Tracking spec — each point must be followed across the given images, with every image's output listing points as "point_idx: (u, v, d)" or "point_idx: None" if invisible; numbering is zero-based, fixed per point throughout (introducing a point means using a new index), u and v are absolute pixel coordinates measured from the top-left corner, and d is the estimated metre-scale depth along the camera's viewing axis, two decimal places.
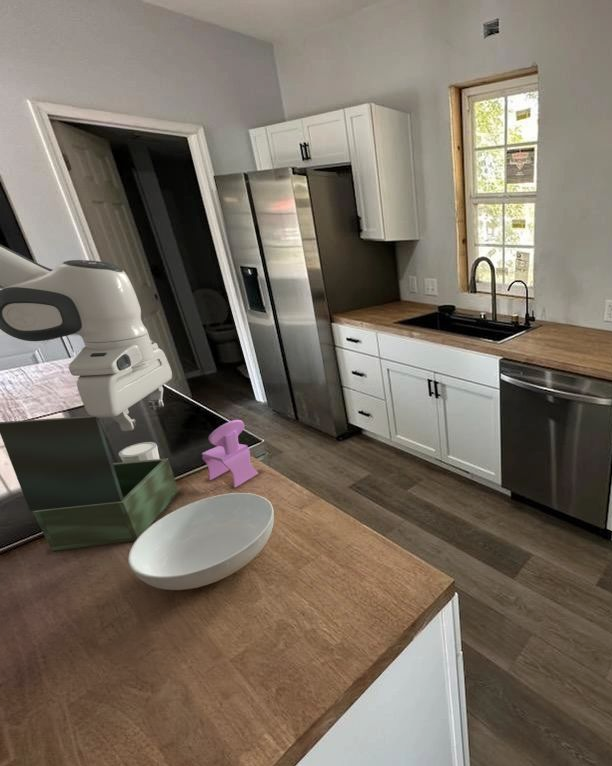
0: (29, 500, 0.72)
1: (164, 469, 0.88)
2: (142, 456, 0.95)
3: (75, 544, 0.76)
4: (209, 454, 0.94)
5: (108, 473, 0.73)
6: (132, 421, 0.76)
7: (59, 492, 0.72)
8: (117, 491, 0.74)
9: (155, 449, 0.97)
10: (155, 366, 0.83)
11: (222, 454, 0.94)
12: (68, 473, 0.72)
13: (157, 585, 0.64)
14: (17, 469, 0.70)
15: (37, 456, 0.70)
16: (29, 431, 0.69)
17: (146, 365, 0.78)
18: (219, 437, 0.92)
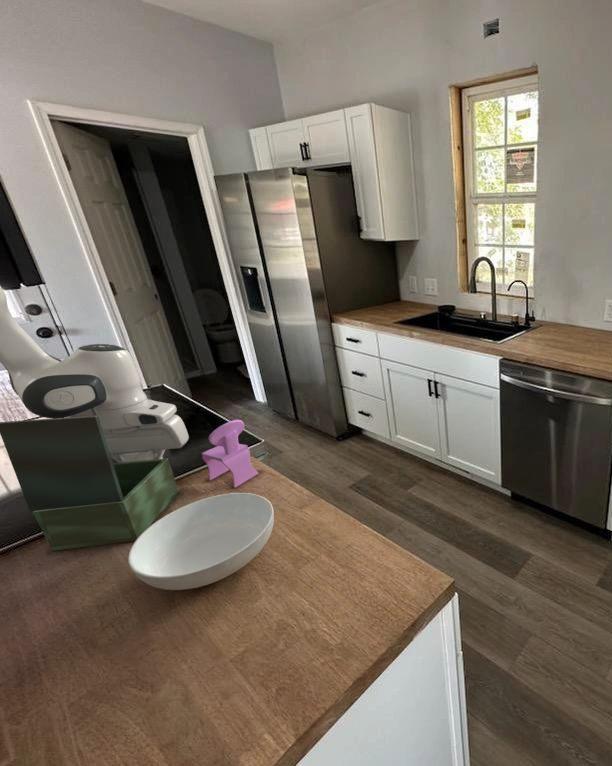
0: (29, 500, 0.72)
1: (164, 469, 0.88)
2: (142, 456, 0.95)
3: (75, 544, 0.76)
4: (209, 454, 0.94)
5: (108, 473, 0.73)
6: None
7: (59, 492, 0.72)
8: (117, 491, 0.74)
9: None
10: None
11: (222, 454, 0.94)
12: (68, 473, 0.72)
13: (157, 585, 0.64)
14: (17, 469, 0.70)
15: (37, 456, 0.70)
16: (29, 431, 0.69)
17: None
18: (219, 437, 0.92)
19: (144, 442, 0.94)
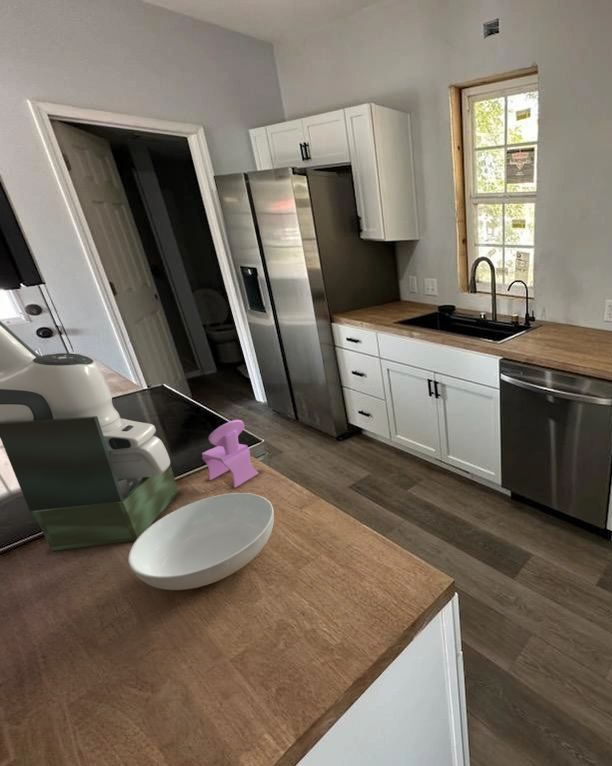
0: (29, 500, 0.71)
1: None
2: None
3: (75, 544, 0.76)
4: (209, 454, 0.94)
5: (108, 473, 0.73)
6: None
7: (59, 492, 0.72)
8: (117, 491, 0.74)
9: None
10: None
11: (222, 454, 0.94)
12: (68, 473, 0.72)
13: (157, 585, 0.64)
14: (16, 470, 0.70)
15: (36, 456, 0.70)
16: (28, 431, 0.68)
17: None
18: (219, 437, 0.92)
19: (116, 470, 0.80)
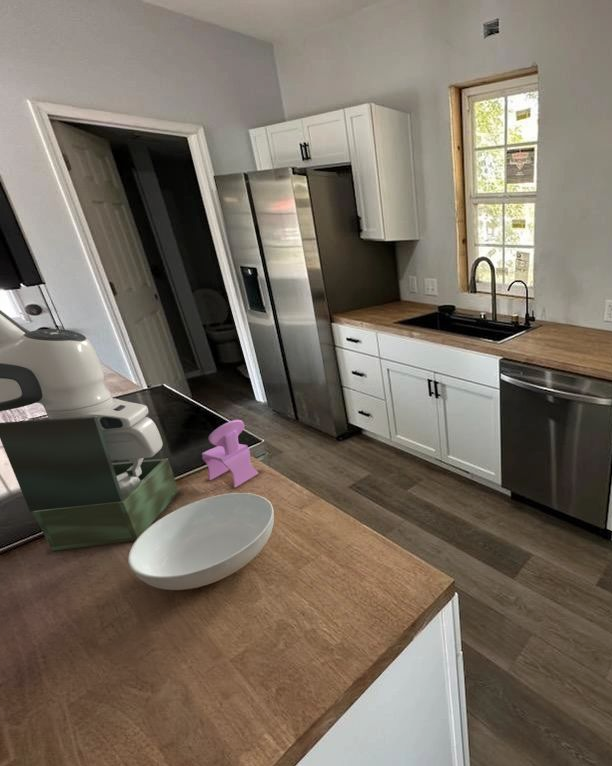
0: (29, 500, 0.71)
1: (164, 469, 0.88)
2: None
3: (75, 544, 0.76)
4: (209, 454, 0.94)
5: (108, 473, 0.73)
6: None
7: (59, 492, 0.72)
8: (117, 491, 0.74)
9: None
10: None
11: (222, 454, 0.94)
12: (67, 473, 0.72)
13: (157, 585, 0.64)
14: (16, 470, 0.70)
15: (36, 457, 0.70)
16: (27, 432, 0.68)
17: None
18: (219, 437, 0.92)
19: None
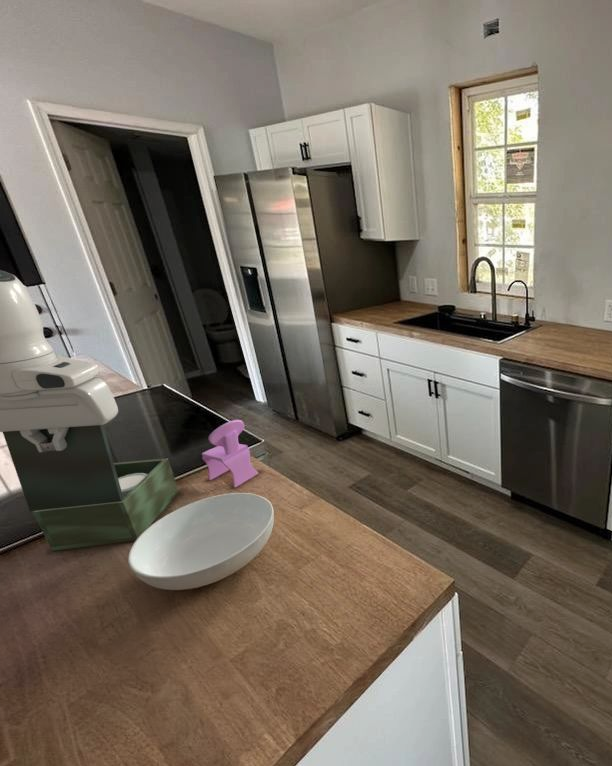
0: (29, 500, 0.72)
1: (164, 469, 0.88)
2: None
3: (75, 544, 0.76)
4: (209, 454, 0.94)
5: (109, 472, 0.73)
6: None
7: (60, 492, 0.72)
8: (117, 491, 0.74)
9: None
10: None
11: (222, 454, 0.94)
12: (69, 472, 0.72)
13: (157, 585, 0.64)
14: (18, 469, 0.70)
15: (39, 455, 0.70)
16: None
17: None
18: (219, 437, 0.92)
19: (49, 416, 0.66)
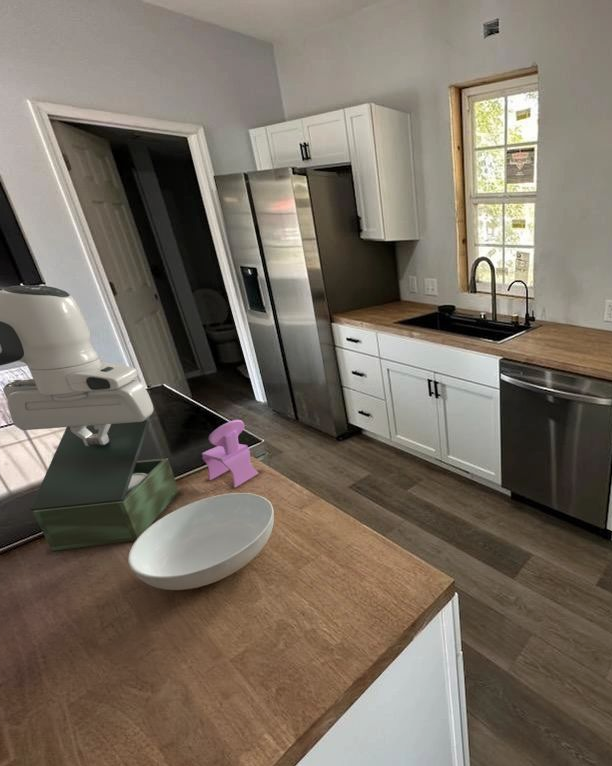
0: (38, 497, 0.73)
1: (164, 469, 0.88)
2: None
3: (75, 544, 0.76)
4: (209, 454, 0.94)
5: (127, 470, 0.78)
6: None
7: (71, 488, 0.75)
8: (124, 488, 0.76)
9: None
10: None
11: (222, 454, 0.94)
12: (92, 469, 0.77)
13: (157, 585, 0.64)
14: (52, 465, 0.76)
15: (78, 453, 0.78)
16: None
17: None
18: (219, 437, 0.92)
19: (95, 414, 0.76)
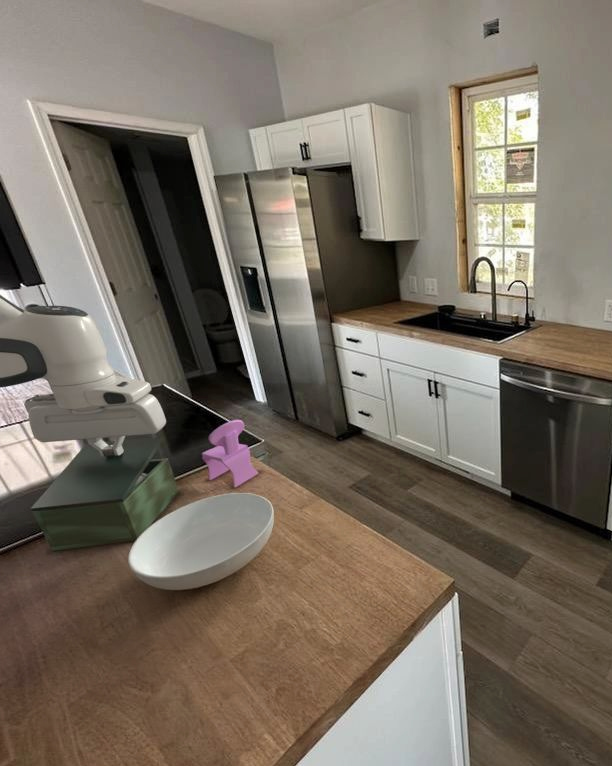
0: (42, 498, 0.74)
1: (164, 469, 0.88)
2: None
3: (75, 544, 0.76)
4: (209, 454, 0.94)
5: (133, 475, 0.80)
6: None
7: (76, 491, 0.76)
8: (126, 490, 0.77)
9: None
10: None
11: (222, 454, 0.94)
12: (100, 475, 0.79)
13: (157, 585, 0.64)
14: (63, 473, 0.79)
15: (90, 463, 0.81)
16: None
17: None
18: (219, 437, 0.92)
19: (111, 426, 0.79)
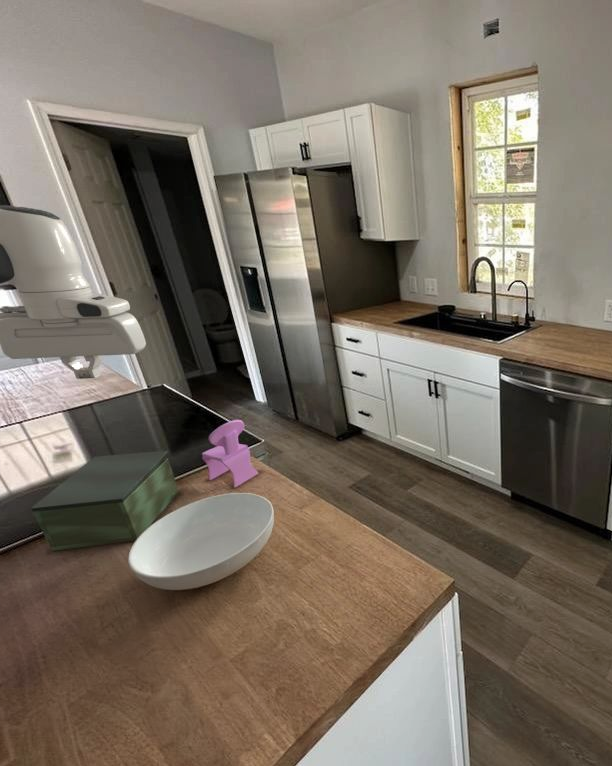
0: (43, 500, 0.74)
1: (164, 469, 0.88)
2: None
3: (75, 544, 0.76)
4: (209, 454, 0.94)
5: (136, 479, 0.80)
6: None
7: (78, 493, 0.76)
8: (127, 491, 0.77)
9: None
10: None
11: (222, 454, 0.94)
12: (104, 481, 0.80)
13: (157, 585, 0.64)
14: (67, 480, 0.80)
15: (96, 472, 0.82)
16: (111, 459, 0.86)
17: None
18: (219, 437, 0.92)
19: (86, 344, 0.75)
